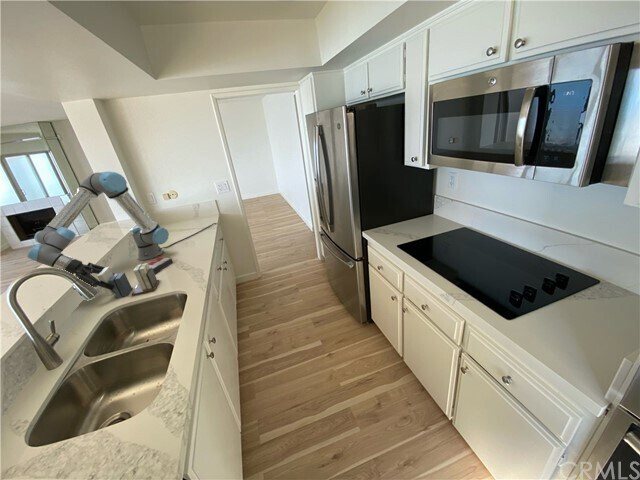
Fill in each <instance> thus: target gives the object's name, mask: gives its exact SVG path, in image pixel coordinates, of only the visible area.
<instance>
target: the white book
mask: <svg viewBox="0 0 640 480" xmlns="http://www.w3.org/2000/svg"><path fill="white" fill-rule="evenodd" d="M113 273H114V272H113V271H112V269H111V267H110V266H106V268H104V269H103V270H102V271H101V272H100V273H99V274H97V275H96V277H97V279H98V280H99V281H104V282H106V283H109V282H108V280H109V279H110V278H111V277H112V276H113ZM103 290H104V291H105V293H106V295H107V297H112V296H114V295H115V294H114V292H113V290H109V289H107V288H103Z"/></svg>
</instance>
